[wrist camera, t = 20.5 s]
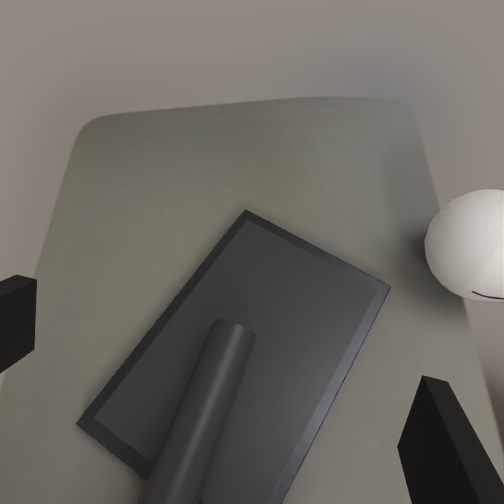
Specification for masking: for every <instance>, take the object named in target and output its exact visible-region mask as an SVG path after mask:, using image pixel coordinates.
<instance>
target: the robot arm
mask: <svg viewBox="0 0 504 504" xmlns="http://www.w3.org/2000/svg"><path fill="white" fill-rule="evenodd" d="M36 290H37V279H33V278H29V277H24V276H20V275H15V276H12V277H10V278H7V279H5V280H3V281H0V373H2V372H3V371H5V370H6V369H7V368H9V367H10V366H12V365H13V364H14V363H16V362H17V361H19V360H20V359H21V358H23V357H24V356H26V355H27V354H29V353H30V352H31V351H33V350H34V344H35V317H36ZM397 448H398V452H399V456H400V460H401V464H402V467H403V471H404V475H405V479H406V483H407V487H408V491H409V495H410V498H411V502H412V504H504V484H503V482H502V481H501V479H500V477H499V475H498V473H497V471H496V470H495V468H494V466H493V464H492V462H491V460H490V459H489V457H488V455H487V453H486V451H485V449H484V448H483V446H482V444H481V442H480V440H479V438H478V437H477V435H476V433H475V431H474V429H473V427H472V426H471V424H470V422H469V420H468V418H467V416H466V415H465V413H464V411H463V409H462V407H461V405H460V403H459V402H458V400H457V398H456V396H455V394H454V392H453V391H452V389H451V387H450V385H449V383H448V382H447V381H443V380H439V379H435V378H431V377H427V376H423V375H422V378H421V381H420V384H419V386H418V389H417V392H416V395H415V398H414V401H413V404H412V406H411V409H410V412H409V415H408V418H407V421H406V424H405V426H404V429H403V432H402V435H401V438H400V441H399V443H398V446H397Z"/></svg>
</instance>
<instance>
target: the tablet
mask: <svg viewBox="0 0 504 504" xmlns="http://www.w3.org/2000/svg"><path fill="white" fill-rule="evenodd" d="M390 288H391V286H390V285H388V284H386V283H384V282H382V281H380V280H378V279H376V278H374V277H373V276H371V275H369V274H367V273H365V272H363V271H361V270H359V269H357V268H356V267H354V266H352V265H350V264H348V263H346V262H344V261H342V260H340V259H339V258H337V257H335V256H333V255H331V254H329V253H327V252H325V251H323V250H322V249H320V248H318V247H316V246H314V245H312V244H310V243H308V242H306V241H304V240H303V239H301V238H299V237H297V236H295V235H293V234H291V233H289V232H287V231H286V230H284V229H282V228H280V227H278V226H276V225H274V224H272V223H270V222H269V221H267V220H265V219H263V218H261V217H259V216H257V215H255V214H253V213H252V212H250V211H248V210H246V209H245V210H244V212H243V213H242V214H241V215H240V217H239V218H238V219H237V220H236V222H235V223H234V224H233V225H232V227H231V228H230V229H229V231H228V232H227V233H226V234H225V236H224V237H223V238H222V239H221V241H220V242H219V243H218V244H217V246H216V247H215V248H214V250H213V251H212V252H211V253H210V255H209V256H208V257H207V258H206V260H205V261H204V262H203V263H202V265H201V266H200V267H199V269H198V270H197V271H196V272H195V274H194V275H193V276H192V277H191V279H190V280H189V281H188V282H187V284H186V285H185V286H184V287H183V289H182V290H181V291H180V293H179V294H178V295H177V296H176V298H175V299H174V300H173V301H172V303H171V304H170V305H169V306H168V308H167V309H166V310H165V312H164V313H163V314H162V315H161V317H160V318H159V319H158V320H157V322H156V323H155V324H154V325H153V327H152V328H151V329H150V331H149V332H148V333H147V334H146V336H145V337H144V338H143V339H142V341H141V342H140V343H139V344H138V346H137V347H136V348H135V350H134V351H133V352H132V353H131V355H130V356H129V357H128V358H127V360H126V361H125V362H124V363H123V365H122V366H121V367H120V369H119V370H118V371H117V372H116V374H115V375H114V376H113V377H112V379H111V380H110V381H109V382H108V384H107V385H106V386H105V388H104V389H103V390H102V391H101V393H100V394H99V395H98V396H97V398H96V399H95V400H94V401H93V403H92V404H91V405H90V407H89V408H88V409H87V410H86V412H85V413H84V414H83V415H82V417H81V418H80V419H79V420H78V422H77V423H76V424H77V425H78V426H79V427H81V428H82V429H83V430H84V431H86V432H87V433H88V434H89V435H91V436H92V437H93V438H94V439H96V440H97V441H98V442H100V443H101V444H102V445H103V446H105V447H106V448H107V449H108V450H110V451H111V452H112V453H113V454H115V455H116V456H117V457H118V458H120V459H121V460H122V461H124V462H125V463H126V464H127V465H129V466H130V467H131V468H132V469H134V470H135V471H136V472H137V473H139V474H140V475H141V476H143V477H144V478H145V479H146V480H148V478H149V475H150V473H151V470H152V468H153V466H154V463H155V461H156V458H157V456H158V454H159V451H160V449H161V446H162V444H163V442H164V439H165V437H166V434H167V432H168V429H169V427H170V425H171V422H172V420H173V417H174V415H175V413H176V410H177V408H178V405H179V403H180V401H181V398H182V396H183V393H184V391H185V389H186V386H187V384H188V381H189V379H190V376H191V374H192V372H193V369H194V367H195V364H196V362H197V360H198V357H199V355H200V352H201V350H202V348H203V345H204V343H205V340H206V338H207V336H208V333H209V331H210V328H211V326H212V323H213V321H214V320H217V319H223V320H228V321H232V322H235V323H238V324H240V325H242V326H244V327H246V328H248V329H249V330H251V331H252V332H253V333H254V334H255V335H256V341H255V343H254V346H253V349H252V352H251V355H250V358H249V360H248V363H247V366H246V369H245V372H244V375H243V377H242V380H241V383H240V386H239V389H238V392H237V395H236V397H235V400H234V403H233V406H232V409H231V412H230V414H229V417H228V420H227V423H226V426H225V429H224V431H223V434H222V437H221V440H220V443H219V446H218V449H217V451H216V454H215V457H214V460H213V463H212V466H211V468H210V471H209V474H208V477H207V480H206V483H205V485H204V488H203V491H202V494H201V497H200V500H199V503H198V504H282V502H283V500H284V498H285V496H286V494H287V492H288V490H289V488H290V486H291V484H292V482H293V480H294V478H295V476H296V474H297V472H298V470H299V468H300V466H301V464H302V462H303V461H304V459H305V457H306V455H307V453H308V451H309V449H310V447H311V445H312V443H313V441H314V439H315V437H316V435H317V433H318V431H319V429H320V427H321V425H322V423H323V421H324V419H325V417H326V415H327V413H328V411H329V409H330V407H331V405H332V403H333V401H334V399H335V397H336V395H337V393H338V391H339V389H340V387H341V385H342V383H343V381H344V379H345V377H346V375H347V373H348V372H349V370H350V368H351V366H352V364H353V362H354V360H355V358H356V356H357V354H358V352H359V350H360V348H361V346H362V344H363V342H364V340H365V338H366V336H367V334H368V332H369V330H370V328H371V326H372V324H373V322H374V320H375V318H376V316H377V314H378V312H379V310H380V308H381V306H382V304H383V302H384V300H385V298H386V296H387V294H388V292H389V290H390Z"/></svg>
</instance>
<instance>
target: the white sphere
mask: <svg viewBox="0 0 504 504" xmlns="http://www.w3.org/2000/svg"><path fill="white" fill-rule="evenodd" d="M424 242H425V254H426V259H427V262H428V265H429V267H430V269H431V272H432V274H433V275H434V276H435V277H436V279H437V280H438V281H439V282H440V283H441V285H443V286H444V287H446V288H447V289H448V290H450V291H451V292H452V293H454V294H456V295H459V296H461V297H464V298H466V299H471V300H478V301H486V302H498V301H504V191H501V190H493V189H486V190H479V191H474V192H470V193H467V194H463V195H462V196H460V197H457V198H455V199H453V200H451V201H450V202H449V203H448V204H446V205H445V206H444V207H443V208H442V209H441V210H440V211H439V212H438V213H437V214H436V215H435V216H434V218H433V219H432V221H431V224H430V226H429V229H428V231H427V235H426V238H425V241H424Z"/></svg>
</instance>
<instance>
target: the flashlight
mask: <svg viewBox="0 0 504 504" xmlns="http://www.w3.org/2000/svg"><path fill="white" fill-rule="evenodd" d="M255 341H256V335H255V334H254V333H253V332H252V331H251V330H249V329H248V328H246V327H244V326H242V325H240V324H238V323H235V322H232V321H228V320H223V319H217V320H214V321H213V323H212V326H211V328H210V331H209V333H208V336H207V338H206V340H205V343H204V345H203V348H202V350H201V352H200V355H199V357H198V360H197V362H196V364H195V367H194V369H193V372H192V374H191V376H190V379H189V381H188V384H187V386H186V389H185V391H184V393H183V396H182V398H181V401H180V403H179V405H178V408H177V410H176V413H175V415H174V417H173V420H172V422H171V425H170V427H169V429H168V432H167V434H166V437H165V439H164V442H163V444H162V446H161V449H160V451H159V454H158V456H157V458H156V461H155V463H154V466H153V468H152V470H151V473H150V475H149V478H148V480H147V482H146V485H145V487H144V490H143V492H142V495H141V497H140V499H139V502H138V504H198V503H199V500H200V497H201V494H202V491H203V488H204V485H205V483H206V480H207V477H208V474H209V471H210V468H211V466H212V463H213V460H214V457H215V454H216V451H217V449H218V446H219V443H220V440H221V437H222V434H223V431H224V429H225V426H226V423H227V420H228V417H229V414H230V412H231V409H232V406H233V403H234V400H235V397H236V395H237V392H238V389H239V386H240V383H241V380H242V377H243V375H244V372H245V369H246V366H247V363H248V360H249V358H250V355H251V352H252V349H253V346H254V343H255Z"/></svg>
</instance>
